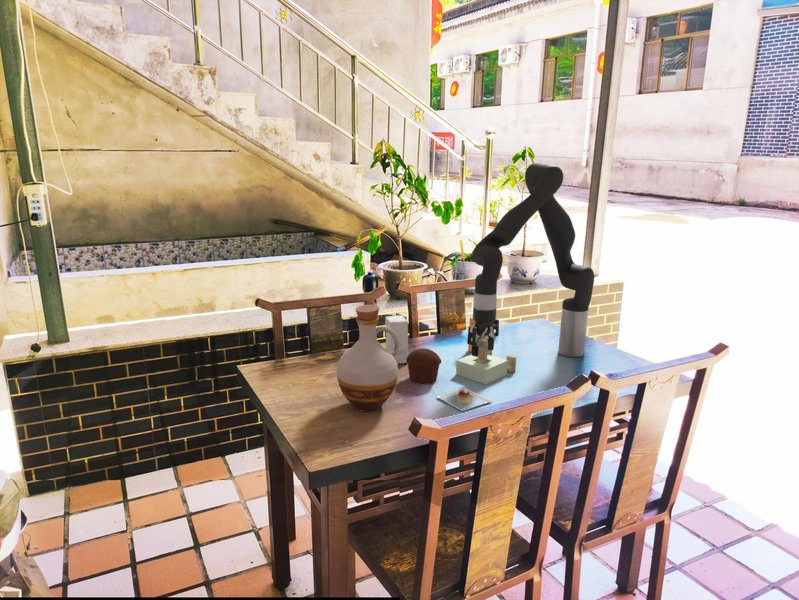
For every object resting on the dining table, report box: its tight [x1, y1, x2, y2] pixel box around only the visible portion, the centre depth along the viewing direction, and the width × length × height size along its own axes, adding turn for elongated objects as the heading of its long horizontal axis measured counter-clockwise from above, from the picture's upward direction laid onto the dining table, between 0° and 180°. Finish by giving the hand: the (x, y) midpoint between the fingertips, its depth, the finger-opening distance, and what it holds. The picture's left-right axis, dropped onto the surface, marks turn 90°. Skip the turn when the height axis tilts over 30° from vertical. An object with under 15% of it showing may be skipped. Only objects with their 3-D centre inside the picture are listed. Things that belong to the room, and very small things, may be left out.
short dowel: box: [506, 354, 517, 373], centre depth 205 cm, size 3×3×5 cm
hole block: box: [455, 353, 507, 385], centre depth 201 cm, size 12×12×5 cm
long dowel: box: [477, 339, 488, 364], centre depth 200 cm, size 3×3×12 cm
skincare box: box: [384, 314, 409, 365], centre depth 211 cm, size 8×7×16 cm
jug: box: [336, 304, 399, 412], centre depth 173 cm, size 20×18×30 cm
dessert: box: [436, 387, 493, 412], centre depth 181 cm, size 12×12×5 cm
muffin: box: [406, 348, 442, 386], centre depth 196 cm, size 12×11×10 cm
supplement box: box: [467, 316, 493, 356], centre depth 220 cm, size 8×5×13 cm, turn 41°
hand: (482, 352), depth 200 cm, fingers open, 8 cm apart
